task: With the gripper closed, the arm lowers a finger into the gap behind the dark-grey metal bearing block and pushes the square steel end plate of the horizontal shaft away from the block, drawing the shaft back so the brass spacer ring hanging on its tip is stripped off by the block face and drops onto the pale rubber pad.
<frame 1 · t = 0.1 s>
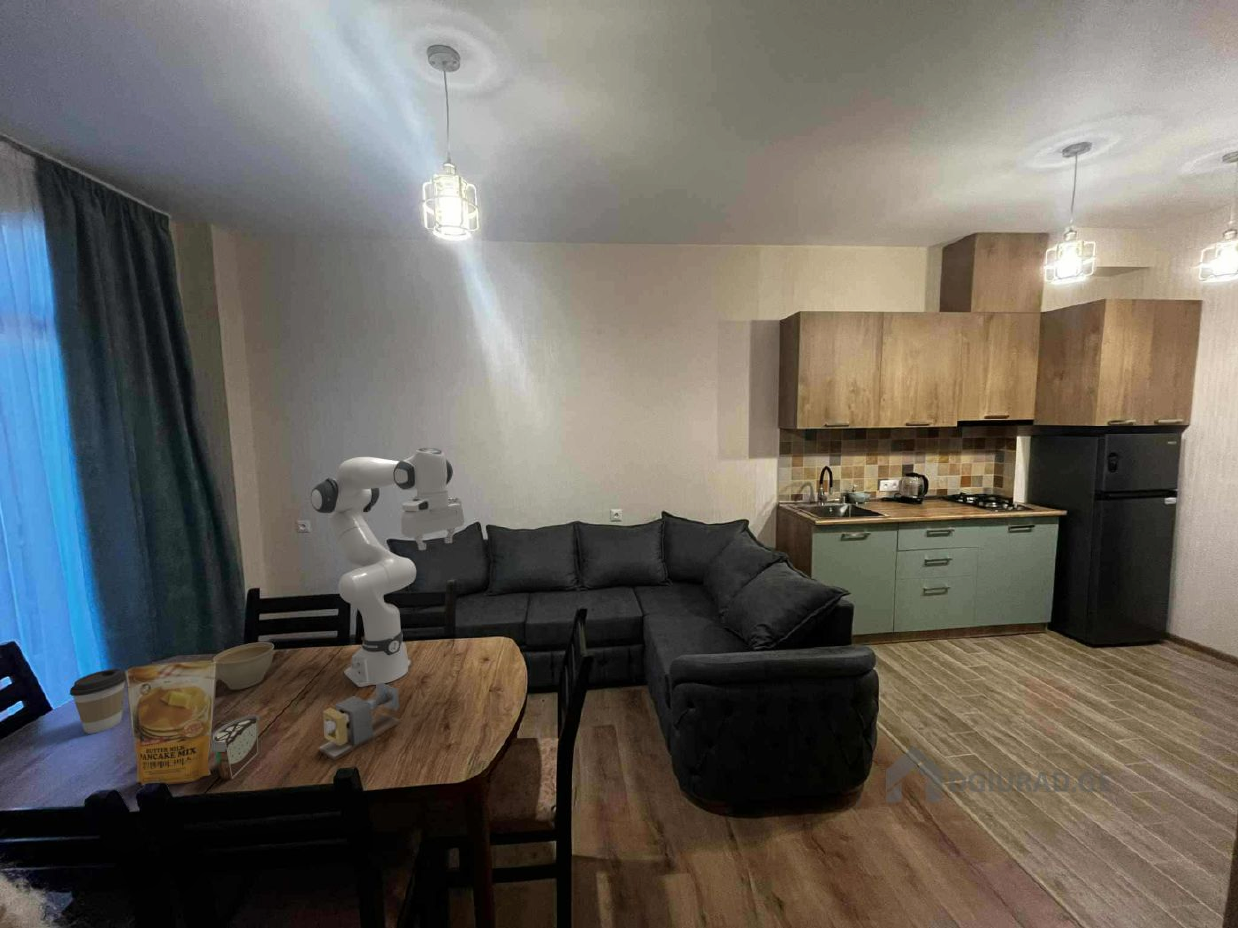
hand: (435, 546, 145), 48 cm above the table, fingers open, 8 cm apart
spacer: (335, 726, 124), point 6 cm above the table, touching shaft
pancake mix bag: (177, 776, 117), on the table
shaft: (360, 710, 130), point 7 cm above the table, slide at 0.0 cm, touching spacer
planter bowl: (247, 683, 162), on the table
food container: (232, 767, 119), on the table
bearing block: (355, 738, 129), resting on rig base
coffee cup: (103, 726, 139), on the table
rig base: (361, 735, 130), on the table
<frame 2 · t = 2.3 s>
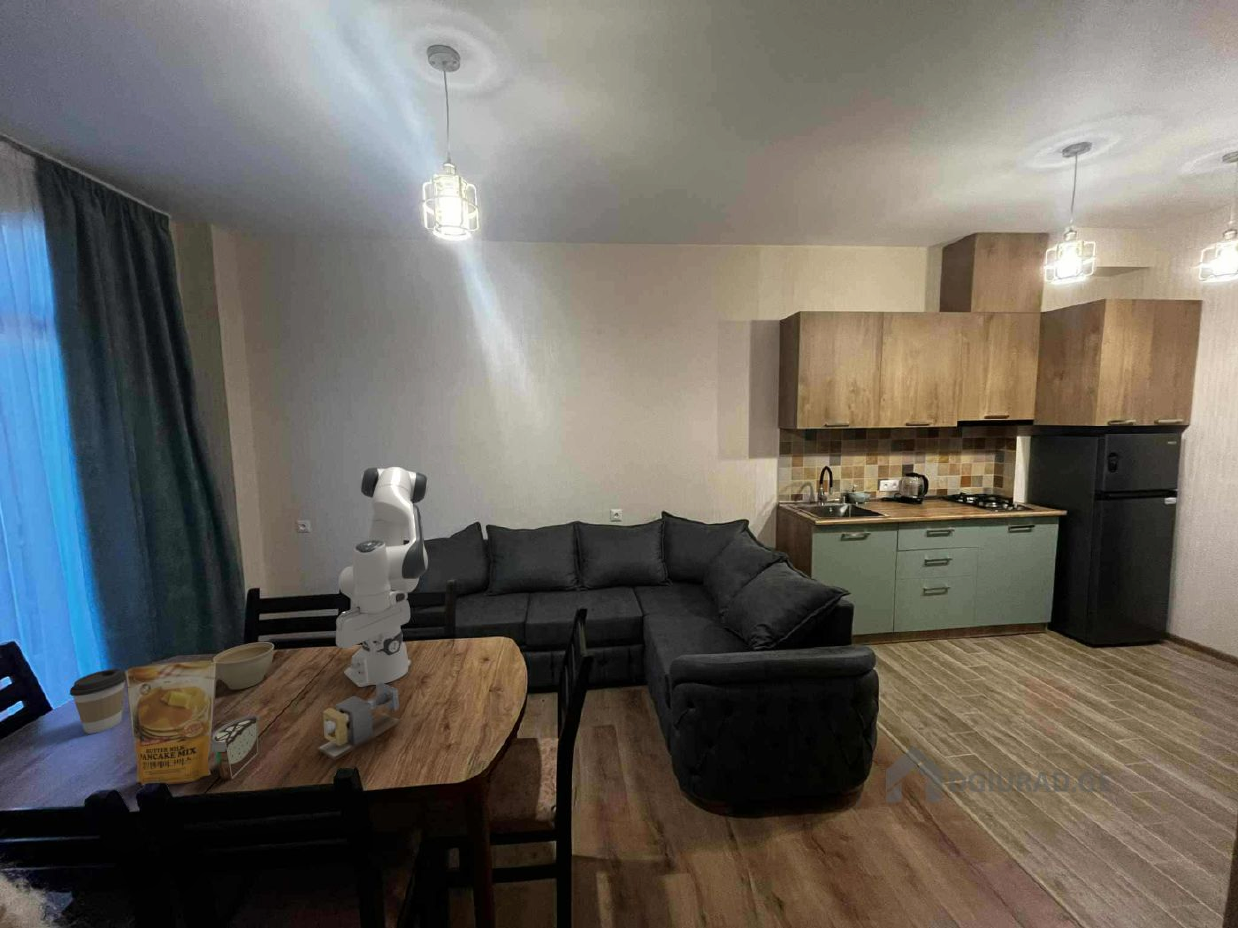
hand: (376, 650, 130), 23 cm above the table, fingers closed
nothing on the table moved.
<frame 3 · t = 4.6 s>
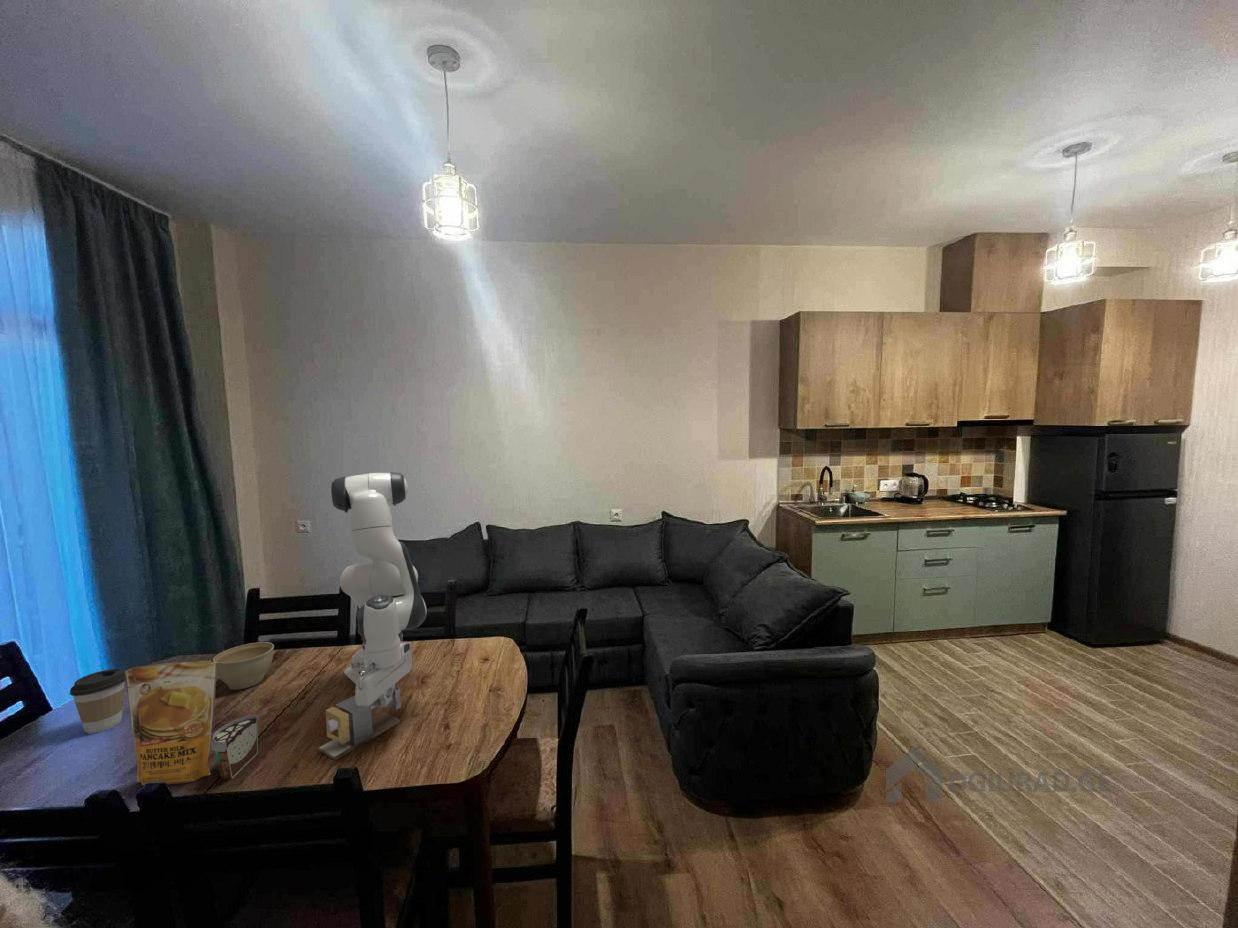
hand: (386, 703, 133), 7 cm above the table, fingers closed
shaft: (362, 709, 130), point 7 cm above the table, slide at 0.6 cm, touching gripper, spacer
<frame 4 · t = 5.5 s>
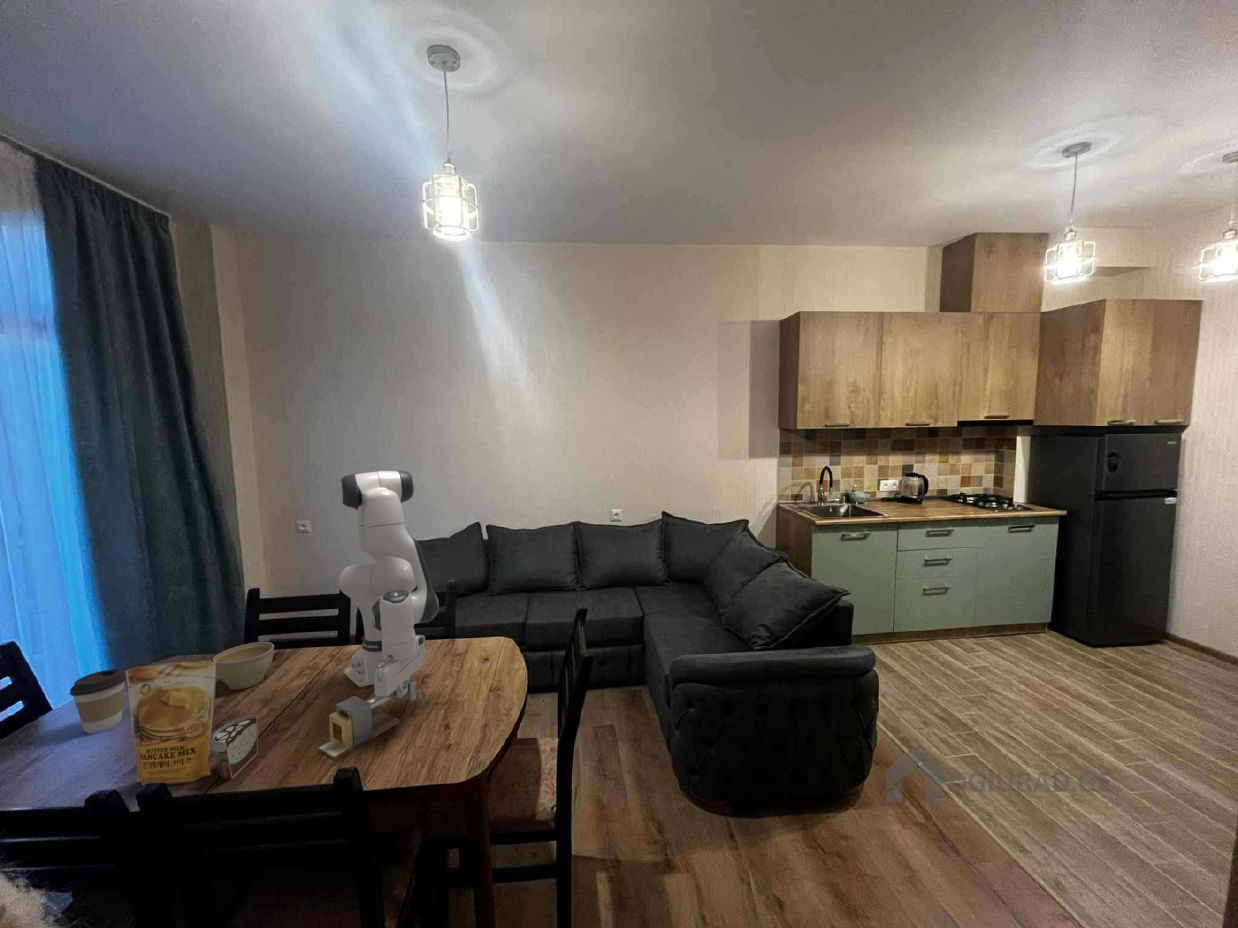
hand: (402, 694, 137), 7 cm above the table, fingers closed
spacer: (341, 730, 126), point 5 cm above the table, touching rig base
shaft: (378, 700, 135), point 7 cm above the table, slide at 5.4 cm, touching gripper
everything else where it was.
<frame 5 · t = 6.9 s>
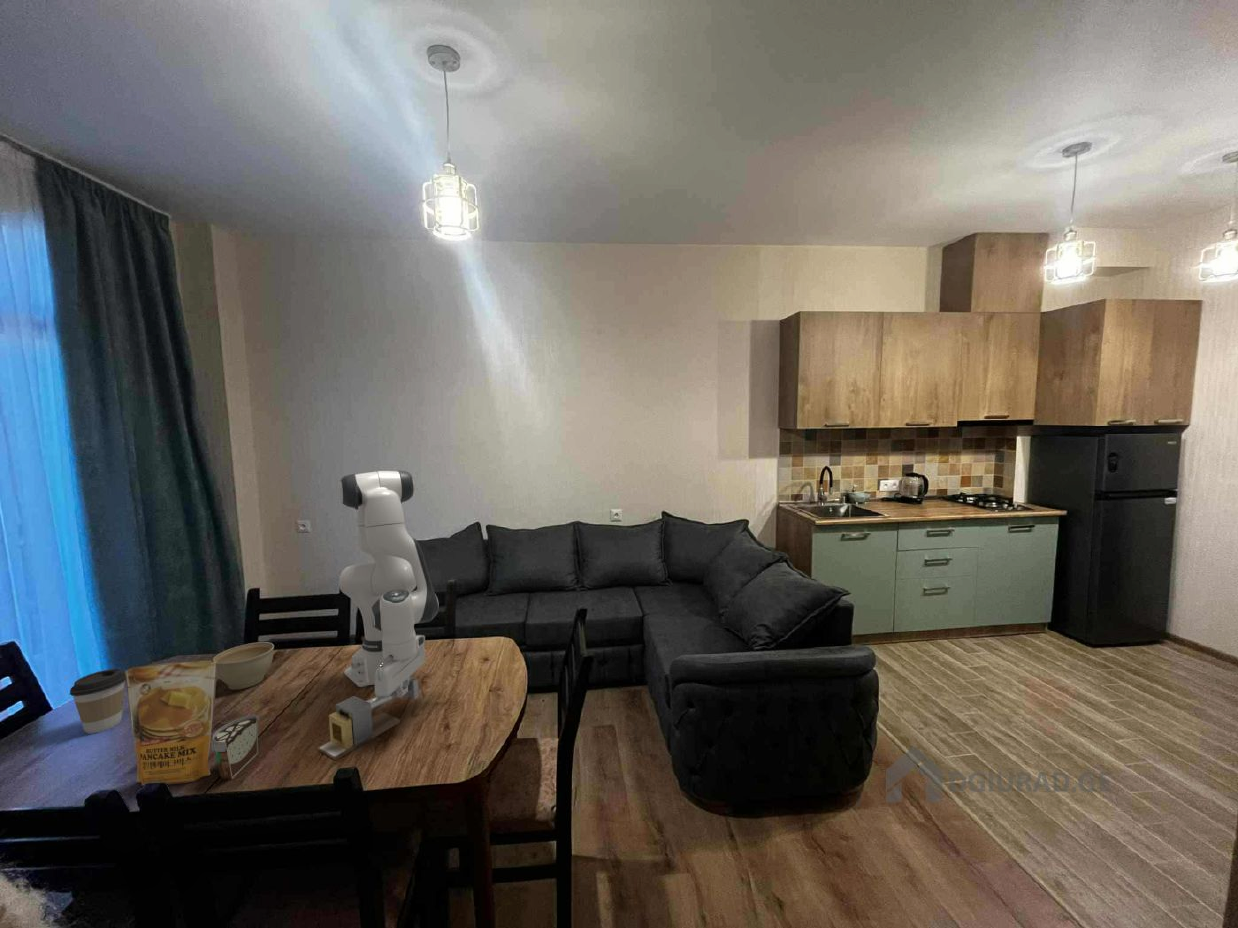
hand: (402, 694, 137), 7 cm above the table, fingers closed
shaft: (382, 698, 135), point 7 cm above the table, slide at 6.5 cm
everything else where it was.
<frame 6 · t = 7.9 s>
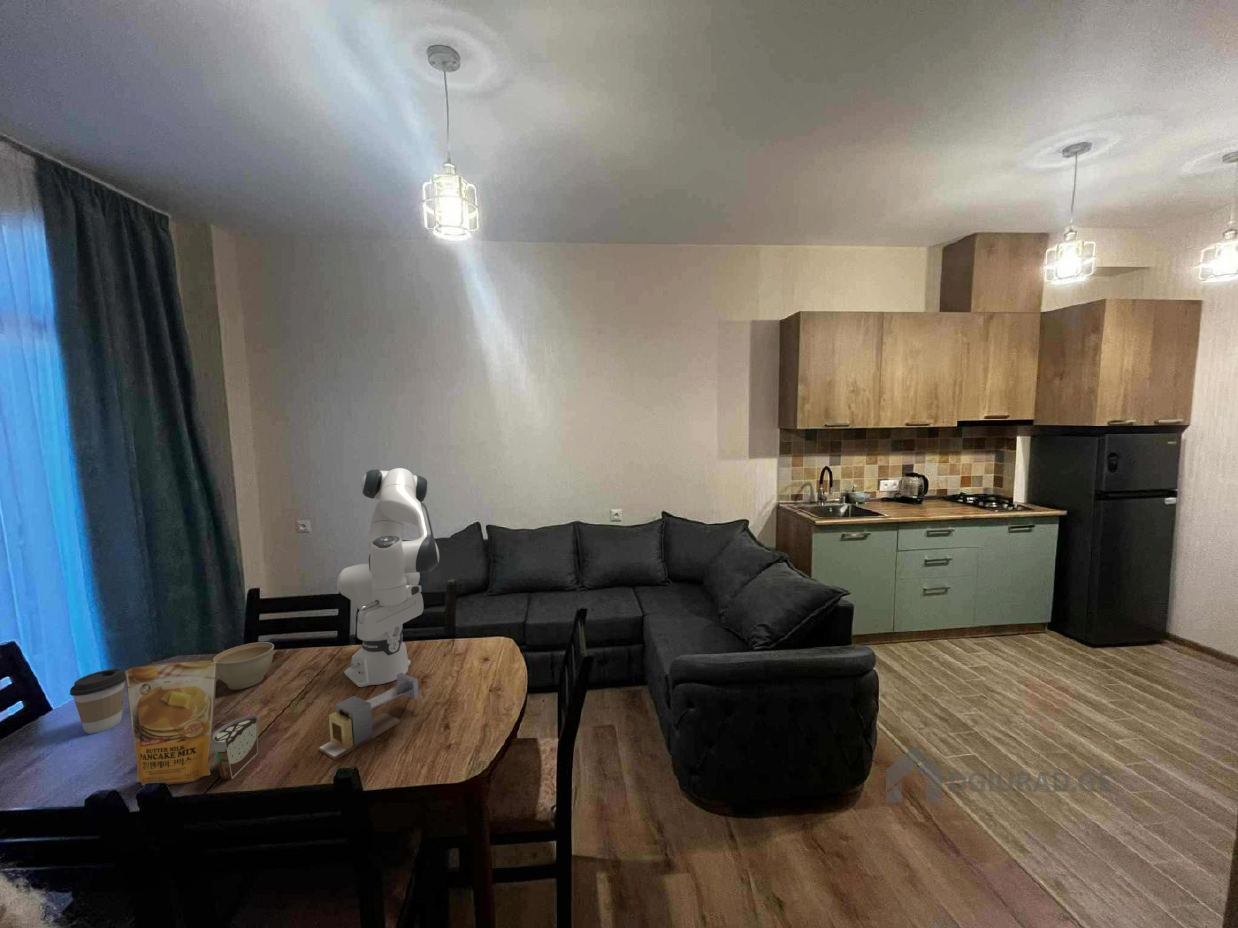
hand: (393, 641, 135), 23 cm above the table, fingers closed
nothing on the table moved.
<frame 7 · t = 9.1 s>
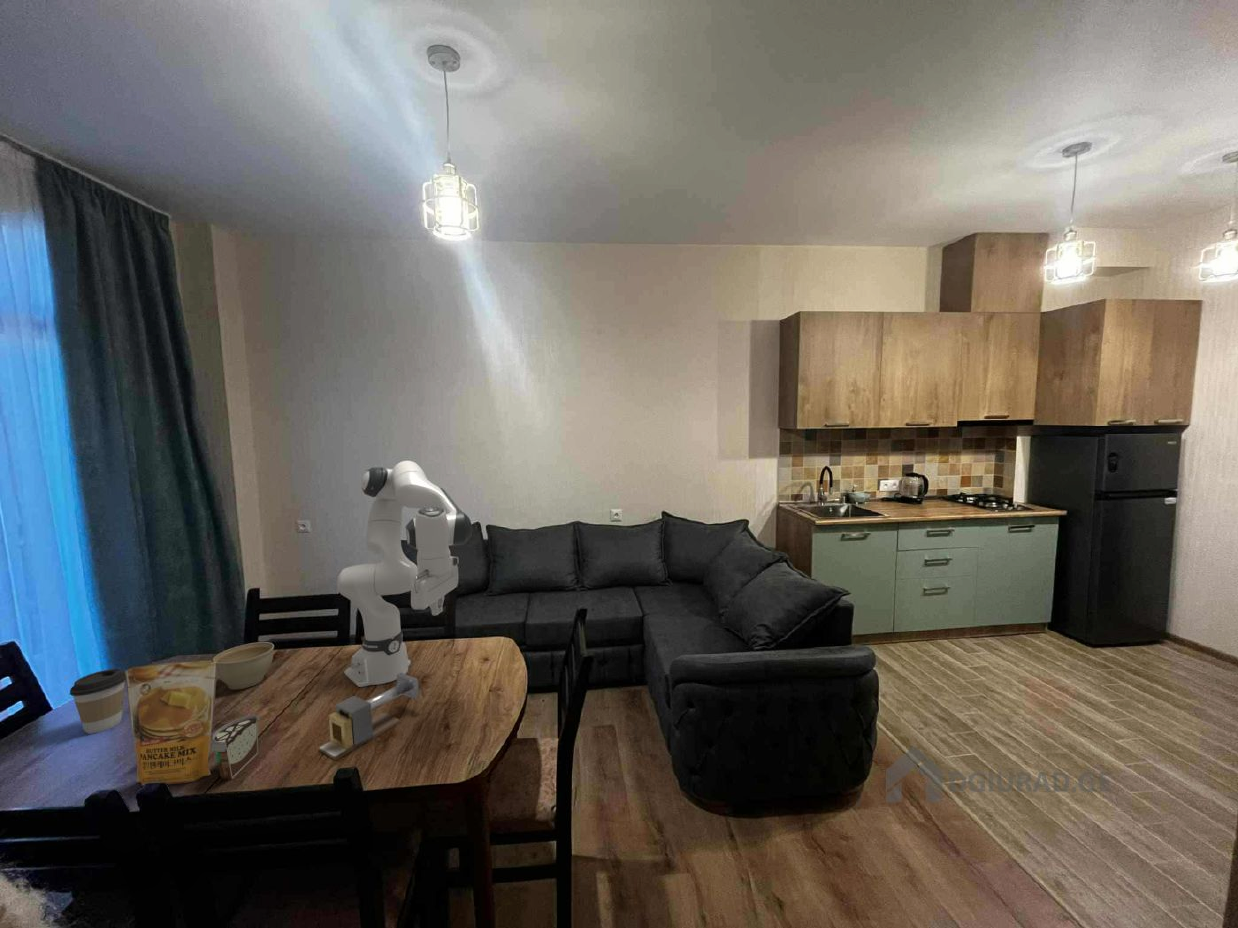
hand: (437, 613, 135), 31 cm above the table, fingers closed
nothing on the table moved.
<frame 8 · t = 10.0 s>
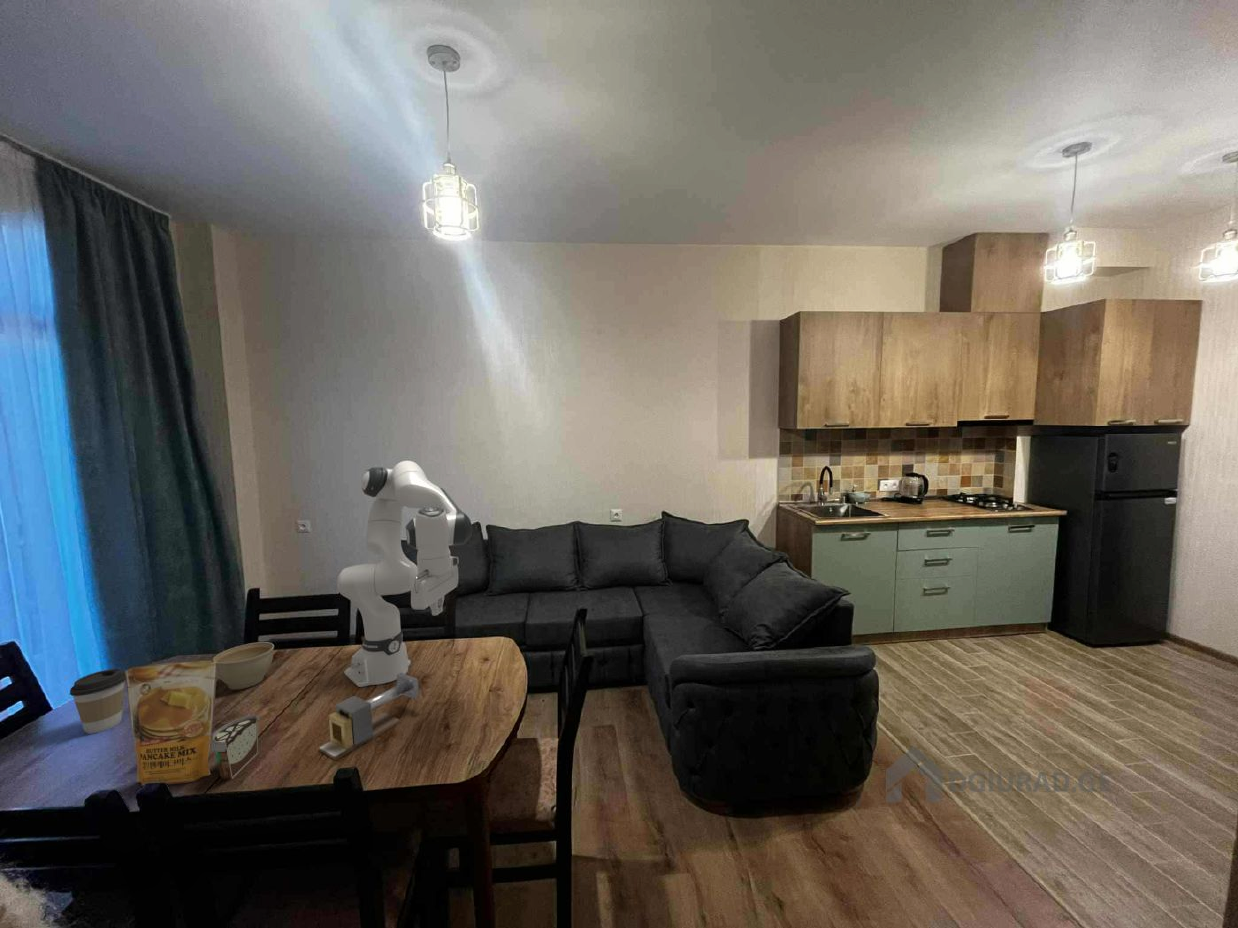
hand: (437, 613, 135), 31 cm above the table, fingers closed
nothing on the table moved.
at the end: shaft slide at 6.5 cm; spacer inside the target area (0.9 cm from its centre), point 4.5 cm above the table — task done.
